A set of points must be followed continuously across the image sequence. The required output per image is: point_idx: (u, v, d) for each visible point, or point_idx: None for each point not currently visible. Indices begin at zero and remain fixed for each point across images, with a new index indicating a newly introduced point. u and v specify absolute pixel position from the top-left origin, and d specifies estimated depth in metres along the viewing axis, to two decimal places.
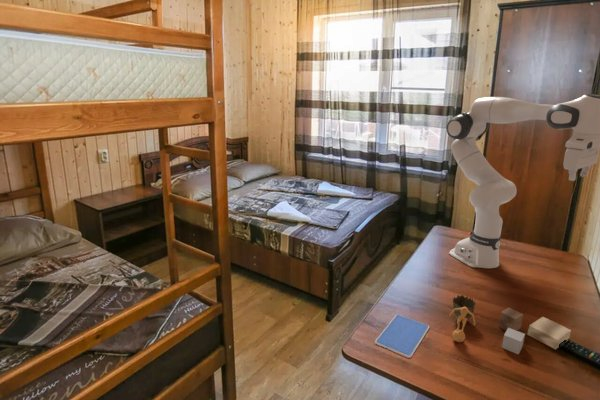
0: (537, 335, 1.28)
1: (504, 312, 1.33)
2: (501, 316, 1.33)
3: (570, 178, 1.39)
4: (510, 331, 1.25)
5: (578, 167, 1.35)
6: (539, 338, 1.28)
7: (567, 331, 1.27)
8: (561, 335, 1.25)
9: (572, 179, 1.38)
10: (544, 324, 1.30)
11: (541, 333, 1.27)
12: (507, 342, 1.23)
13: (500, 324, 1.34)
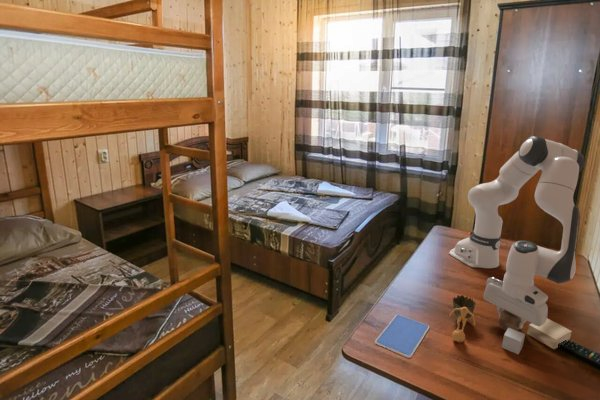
0: (536, 335, 1.28)
1: (504, 312, 1.33)
2: (501, 316, 1.33)
3: (521, 326, 1.30)
4: (510, 331, 1.25)
5: None
6: (538, 337, 1.28)
7: (567, 332, 1.26)
8: (560, 335, 1.25)
9: (522, 326, 1.31)
10: (544, 323, 1.30)
11: (540, 332, 1.27)
12: (507, 342, 1.23)
13: (500, 324, 1.34)
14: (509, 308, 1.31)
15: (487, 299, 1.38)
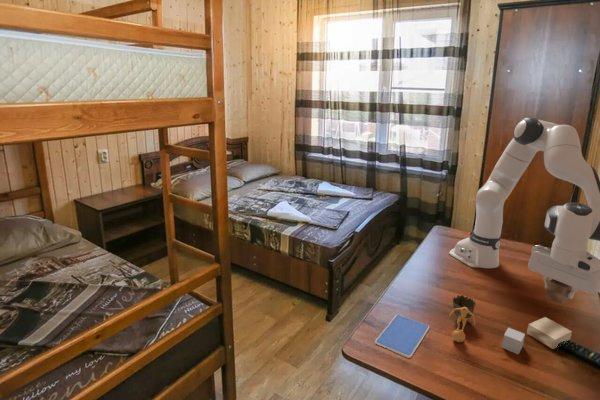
0: (535, 334, 1.29)
1: (552, 281, 1.24)
2: (549, 286, 1.24)
3: (571, 296, 1.21)
4: (510, 331, 1.25)
5: None
6: (537, 337, 1.28)
7: (567, 332, 1.26)
8: (560, 335, 1.25)
9: (572, 296, 1.21)
10: (545, 323, 1.30)
11: (540, 332, 1.27)
12: (507, 342, 1.23)
13: (547, 295, 1.25)
14: (558, 277, 1.22)
15: (532, 269, 1.28)
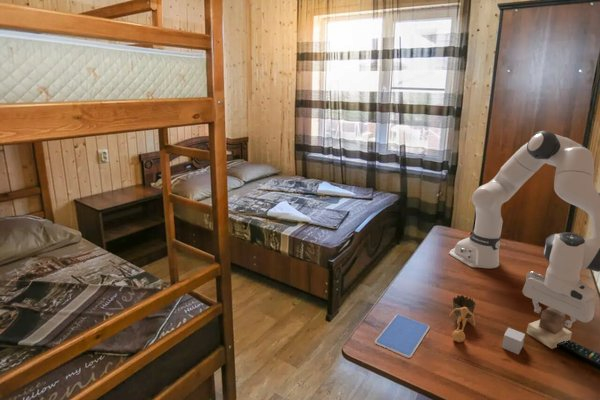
0: (535, 334, 1.29)
1: (545, 311, 1.27)
2: (542, 315, 1.28)
3: (570, 325, 1.23)
4: (510, 331, 1.25)
5: None
6: (537, 337, 1.28)
7: (567, 333, 1.26)
8: (559, 335, 1.25)
9: (571, 325, 1.23)
10: None
11: (539, 332, 1.27)
12: (507, 342, 1.23)
13: (541, 324, 1.28)
14: (552, 304, 1.25)
15: (527, 294, 1.31)
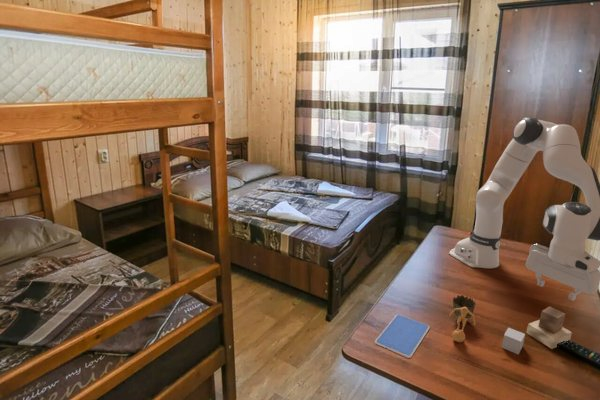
0: (535, 334, 1.29)
1: (545, 311, 1.27)
2: (542, 315, 1.28)
3: (574, 298, 1.20)
4: (510, 331, 1.25)
5: None
6: (537, 337, 1.28)
7: (567, 333, 1.26)
8: (559, 335, 1.25)
9: (574, 298, 1.20)
10: None
11: (539, 332, 1.27)
12: (507, 342, 1.23)
13: (540, 323, 1.29)
14: (555, 276, 1.22)
15: (530, 267, 1.28)
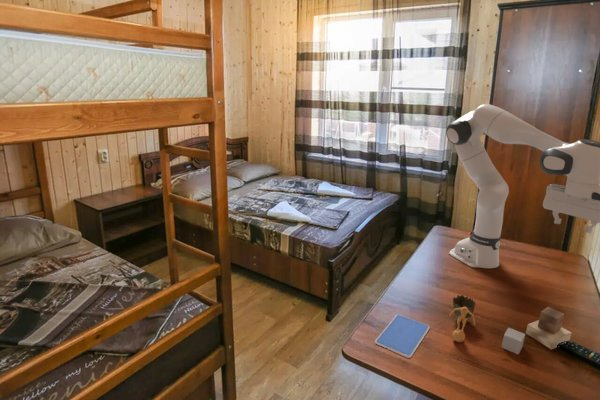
0: (534, 334, 1.29)
1: (544, 312, 1.27)
2: (541, 316, 1.27)
3: (590, 230, 1.27)
4: (510, 331, 1.25)
5: None
6: (536, 337, 1.28)
7: (566, 333, 1.26)
8: (559, 336, 1.24)
9: (591, 231, 1.28)
10: None
11: (539, 332, 1.27)
12: (507, 342, 1.23)
13: (540, 324, 1.28)
14: (572, 211, 1.29)
15: (547, 207, 1.36)
